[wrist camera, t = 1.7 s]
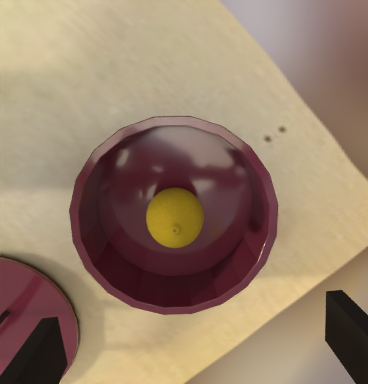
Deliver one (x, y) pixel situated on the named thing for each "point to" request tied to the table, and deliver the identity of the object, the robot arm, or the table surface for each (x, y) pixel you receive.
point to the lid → (31, 310)
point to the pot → (147, 189)
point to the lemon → (174, 217)
